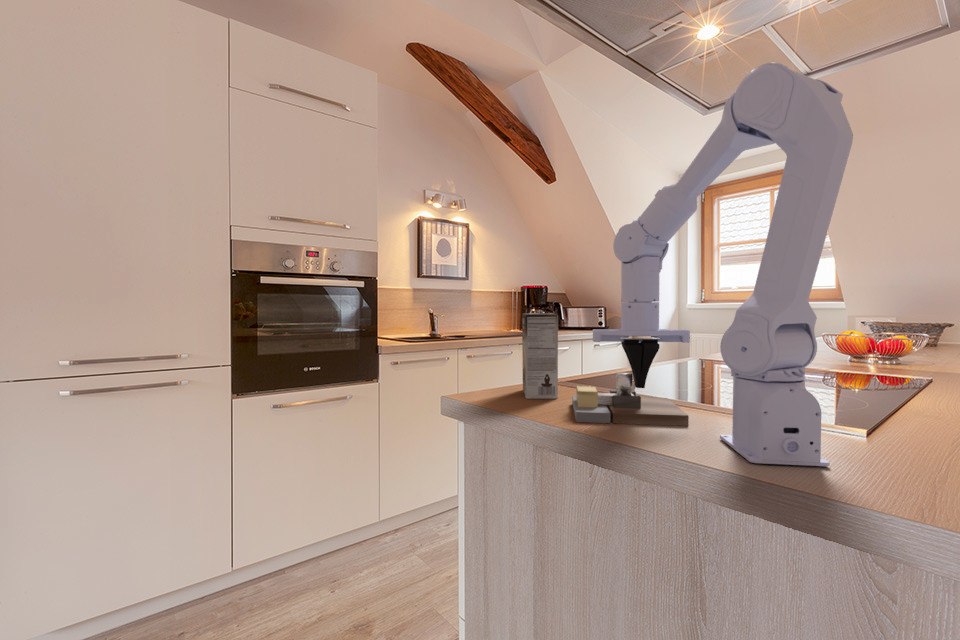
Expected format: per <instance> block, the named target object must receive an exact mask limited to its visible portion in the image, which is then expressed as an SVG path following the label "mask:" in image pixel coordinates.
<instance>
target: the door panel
mask: <svg viewBox="0 0 960 640" xmlns="http://www.w3.org/2000/svg"><path fill="white" fill-rule="evenodd" d="M609 393H617V389H616V390H615V389H612V390H611V389H609ZM632 394H634V396H622V395H613V405H606V406H607V408H608V410H609V411H610V421H612V424H625V425H626V424H627V425H628V424H629V425H630V424H632V425H656V426H658V425H660V426H682V427H683V426H684V427H685V426H689V416H690V415H689V414H688V413H687V412H685V411H684V410H682V409H681V408H680V407H679V406H677V405H676V404H675V403H674V402H672V400H670V399H669V398H668V397H643V396H642V397H641V396H640V395H637V391H635V390H632Z"/></svg>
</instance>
